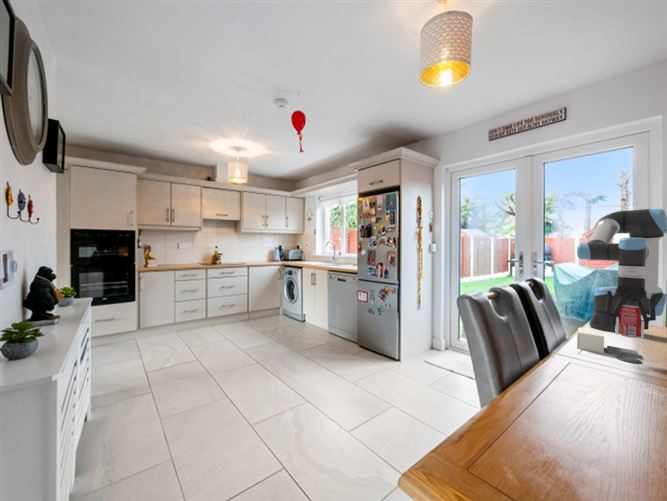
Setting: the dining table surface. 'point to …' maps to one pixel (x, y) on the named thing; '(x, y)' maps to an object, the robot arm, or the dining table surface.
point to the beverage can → (630, 321)
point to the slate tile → (622, 351)
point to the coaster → (628, 359)
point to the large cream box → (590, 340)
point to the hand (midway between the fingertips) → (629, 335)
